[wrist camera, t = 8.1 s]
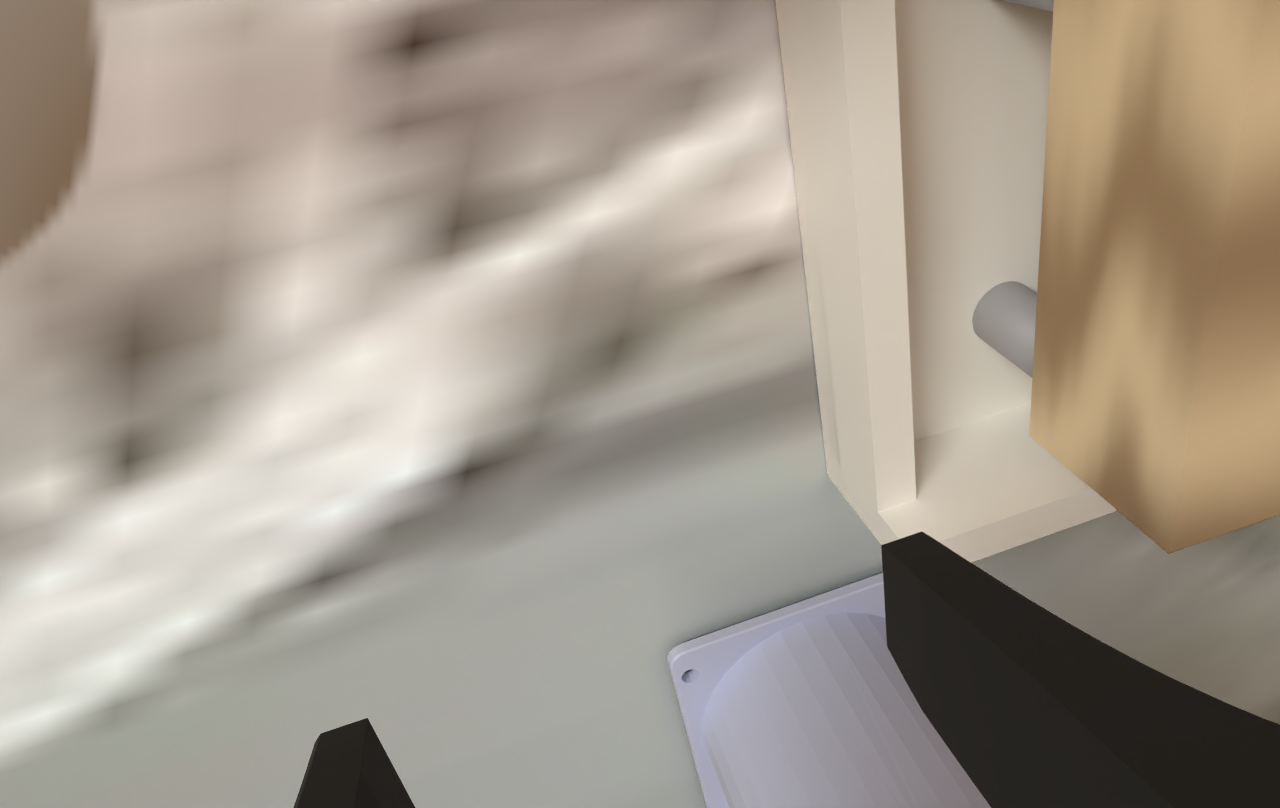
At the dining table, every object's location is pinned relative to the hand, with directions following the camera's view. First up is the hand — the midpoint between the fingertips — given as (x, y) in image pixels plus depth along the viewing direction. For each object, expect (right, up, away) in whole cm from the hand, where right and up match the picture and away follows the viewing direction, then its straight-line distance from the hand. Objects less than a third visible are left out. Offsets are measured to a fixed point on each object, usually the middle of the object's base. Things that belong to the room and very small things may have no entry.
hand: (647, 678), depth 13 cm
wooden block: (+10, +9, +6) cm, 15 cm away
